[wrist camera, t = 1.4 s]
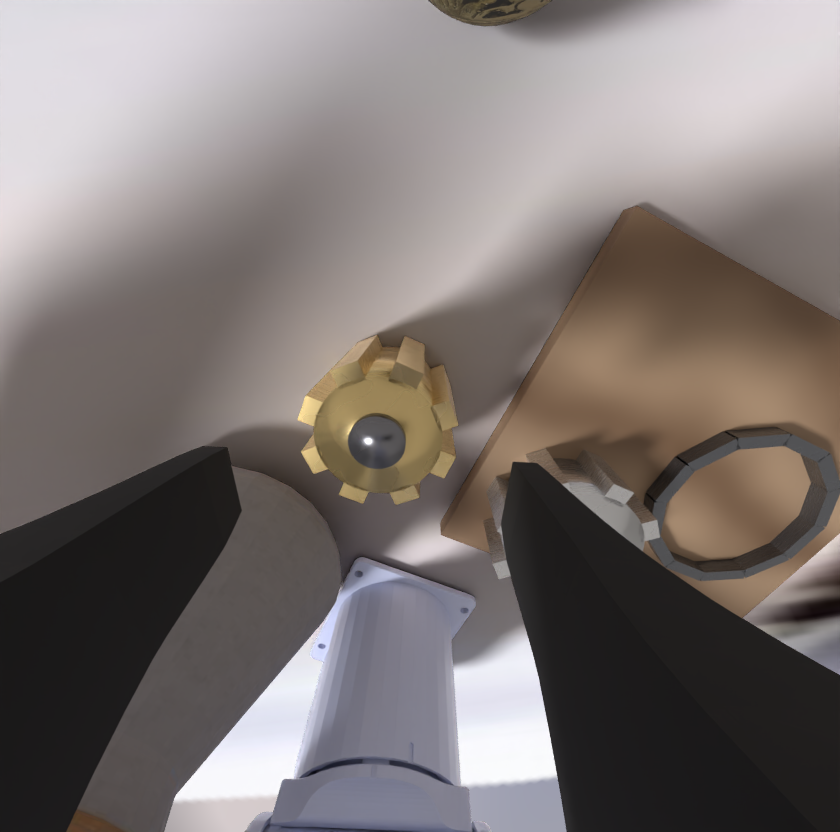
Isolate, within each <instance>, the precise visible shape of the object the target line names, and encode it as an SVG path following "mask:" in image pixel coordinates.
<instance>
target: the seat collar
mask: <svg viewBox="0 0 840 832" xmlns="http://www.w3.org/2000/svg"><path fill="white" fill-rule="evenodd" d="M780 446H785V447H787V448H789V449H791V450H793V451H795V452H797V453H799V454H801V457H802V460H803V463H804V465H805V468H806V471H807V474H808V476H809V479H810V482H811V484H810V486H809V489H808V492H807V495H806V497H805V500H804V503H803V505H802V508H801V511H800V513H799V516H798V517H796V518H795V519H794V520H793V521H792V522H791V523H790V524H789V525H788V526H787V527H786V528H785V529H784V530H783V531H782V532H781V533H779V534H778V535H777V536H776V537H775V538H774V539H773V540H772V541H771V542H770V543H768V544H765V545H763V546H761V547H758V548H756V549H754V550H752V551H749V552H747V553H745V554H742V555H740V556H738V557H735V558H733V559H722V560H706V561H693V560H690V559H688V558H686V557H683V556H681V555H678V554H676V553H673V552H671V551H669V549H668V548H667V546H666V544H665V542H664V541H663V539H662V537H661V531H662V526H663V521H664V516H665V511H666V505H667V503H668V502H669V500H670V499H671V498H672V497H673V496H674V495H675V494H676V492H677V491H678V490H679V489H680V488H681V487H682V486H683V484H684V483H685V482H686V481H687V480H688V479H689V478H690V476H691V475H692V474H693V473H694V472H695V471H697V470H699V469H701V468H703V467H705V466H707V465H709V464H711V463H713V462H715V461H717V460H719V459H721V458H723V457H725V456H727V455H729V454H731V453H733V452H735V451H737V450H741V449H754V448H767V447H780ZM677 457H678V458H677ZM677 457H674V458H673V459H672V461H671V462H670V463H669V464H668V465H667V467H666V468H665V469H664V470H663V471H662V473H661V474H660V475H659V476H658V477H657V479H656V480H655V481H654V482H653V483H652V485H651V486H650V487H649V488H648V489H647V491H646V492H647V493H645V497H644V503H643V505H644V506H645V507H646V508H647V509H648V510H649V511H650V512H651V514H652V515H653V516H654V517H655V518H656V519H657V522H658V528H659V534H660V537H659V538H656V539H652V540H648V541H647V542H648V544H649V545H650V547H651V549H652V550H653V552H654V554H655V555H656V557H657V558H658V559H659V560H660V562H661V563H662V564H663V565H664V567H666V568H668V569H671V570H673V571H676V572H678V573H681V574H683V575H686V576H688V577H691V578H693V579H696V580H698V581H699V580H700V581H712V580H729V579H744V577H745V578H747V577H750V576H752V575H754V574H757V573H759V572H762V571H764V570H766V569H769V568H771V567H774V566H776V565H778V564H781V563H783V562H786V561H788V560H789V559H788V558H790V559H791V558H792V557H794V556H795V555H796V554H797V553H798V552H799V551H800V550H801V549H803V548H804V547H805V546H806V545H807V544H808V543H809V542H810V541H812V540H813V539H814V538H815V537H816V536H817V535H818V534H819V533H820V532H822V531H823V530H824V529H825V528H824V527H827V524H828V522H829V519H830V517H831V515H832V512H833V510H834V507H835V505H836V502H837V500H838V498H839V495H840V480H839V477H838V474H837V471H836V468H835V465H834V461H833V458H832V455H831V454H830V452H828V451H826V450H824V449H822V448H819V447H817V446H815V445H813V444H811V443H809V442H807V441H805V440H803V439H801V438H799V437H797V436H795V435H793V434H791V433H789V432H787V431H784V430H782V429H780V428H778V427H763V428H751V429H738V430H726V431H725V432H723V431H722V432H720V433H718V434H716V435H714V436H713V437H711V438H709V439H707V440H705V441H703V442H701V443H699V444H697V445H695V446H693V447H691V448H689V449H687V450H686V451H684V452H682V453H680V454H678V455H677Z"/></svg>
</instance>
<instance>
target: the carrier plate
mask: <svg viewBox="0 0 840 832" xmlns="http://www.w3.org/2000/svg"><path fill="white" fill-rule="evenodd" d="M763 427H778V428H780V429H782V430H784V431H787V432H789V433H791V434H793V435H795V436H797V437H799V438H801V439H803V440H805V441H807V442H809V443H811V444H813V445H815V446H817V447H819V448H822V449H824V450H826V451H828V452H830V454H831V455H832V458H833V461H834V465H835V468H836V471H837V474H838V477H839V480H840V321H839V320H838V319H836V318H834V317H832V316H830V315H829V314H827V313H825V312H823V311H822V310H820V309H818V308H816V307H815V306H813V305H811V304H809V303H808V302H806V301H804V300H802V299H800V298H799V297H797V296H795V295H793V294H792V293H790V292H788V291H786V290H785V289H783V288H781V287H779V286H778V285H776V284H774V283H772V282H770V281H769V280H767V279H765V278H763V277H762V276H760V275H758V274H756V273H755V272H753V271H751V270H749V269H748V268H746V267H744V266H742V265H741V264H739V263H737V262H735V261H733V260H732V259H730V258H728V257H726V256H725V255H723V254H721V253H719V252H718V251H716V250H714V249H712V248H711V247H709V246H707V245H705V244H703V243H702V242H700V241H698V240H696V239H695V238H693V237H691V236H689V235H688V234H686V233H684V232H682V231H681V230H679V229H677V228H675V227H674V226H672V225H670V224H668V223H666V222H665V221H663V220H661V219H659V218H658V217H656V216H654V215H652V214H651V213H649V212H647V211H645V210H644V209H642V208H640V207H638V206H635V207H632V208H629V209H626V210H623V212H622V213H621V215H620V217H619V219H618V220H617V222H616V224H615V225H614V227H613V229H612V231H611V232H610V234H609V236H608V237H607V239H606V241H605V243H604V244H603V246H602V248H601V249H600V251H599V253H598V254H597V256H596V258H595V260H594V261H593V263H592V265H591V266H590V268H589V270H588V272H587V273H586V275H585V277H584V278H583V280H582V282H581V283H580V285H579V287H578V289H577V290H576V292H575V294H574V295H573V297H572V299H571V301H570V302H569V304H568V306H567V307H566V309H565V311H564V313H563V314H562V316H561V318H560V319H559V321H558V323H557V324H556V326H555V328H554V330H553V331H552V333H551V335H550V336H549V338H548V340H547V342H546V343H545V345H544V347H543V348H542V350H541V352H540V353H539V355H538V357H537V359H536V360H535V362H534V364H533V365H532V367H531V369H530V371H529V372H528V374H527V376H526V377H525V379H524V381H523V383H522V384H521V386H520V388H519V389H518V391H517V393H516V394H515V396H514V398H513V400H512V401H511V403H510V405H509V406H508V408H507V410H506V412H505V413H504V415H503V417H502V418H501V420H500V422H499V423H498V425H497V427H496V429H495V430H494V432H493V434H492V435H491V437H490V439H489V441H488V442H487V444H486V446H485V447H484V449H483V451H482V453H481V454H480V456H479V458H478V459H477V461H476V463H475V464H474V466H473V468H472V470H471V471H470V473H469V475H468V476H467V478H466V480H465V482H464V483H463V485H462V487H461V488H460V490H459V492H458V494H457V495H456V497H455V499H454V500H453V502H452V504H451V505H450V507H449V509H448V511H447V512H446V514H445V516H444V517H443V519H442V521H441V523H440V526H441V535H443V536H445V537H448V538H451V539H453V540H456V541H459V542H461V543H464V544H467V545H469V546H472V547H475V548H477V549H480V550H483V551H485V552H488V553H490V550H489V546H488V541H487V537H486V532H485V528H484V523H483V520H486V519H490V518H493V514H492V511H491V507H490V503H489V500H488V496H487V492H486V491H487V490H488V488H489V486H490V485H491V483H492V482H493V480H494V478H495V477H499V478H501V479H504V480H506V481H508V479H509V478H510V473H511V468H512V463H513V462H528V461H527V458H526V455H525V454H528V453H531V452H534V451H538V450H541V449H544V448H546V449H547V451H548V452H549V454H550V455H551V457H552V458H567V459H574V460H576V459H577V458H578V457H579V455H580V454H581V452H582V451H583V449H584V450H586V451H589V452H591V453H593V454H595V455H598V456H600V457H601V458H602V459H603V460H604V461H605V462H606V463H607V464H608V465H609V466H610V467H611V468H612V469H613V470H614V471H615V473H616V474H617V475H618V476H619V477H620V478H621V479H622V480H623V481H624V482H625V483H626V484H627V485H628V486H629V488H630V489H631V490H632V491H633V492H634V495H635V496H636V497H637V498H638V499H639V501H640V502H641V503H642V504H643V503H644V497H645V493H647V492H646V491H647V489H648V488H649V487H650V486H651V485H652V483H653V482H654V481H655V480H656V479H657V477H658V476H659V475H660V474H661V473H662V471H663V470H664V469H665V468H666V467H667V465H668V464H669V463H670V462H671V461H672V459H673V458H674V457H677V455H678V454H680V453H682V452H684V451H686V450H687V449H689V448H691V447H693V446H695V445H697V444H699V443H701V442H703V441H705V440H707V439H709V438H711V437H713V436H714V435H716V434H718V433H720V432H722V431H723V432H725V431H726V430H738V429H751V428H763ZM677 458H678V457H677ZM810 484H811V482H810V479H809V476H808V474H807V471H806V468H805V465H804V463H803V460H802V457H801V454H799V453H797V452H795V451H793V450H791V449H789V448H787V447H785V446H780V447H767V448H754V449H741V450H737V451H735V452H733V453H731V454H729V455H727V456H725V457H723V458H721V459H719V460H717V461H715V462H713V463H711V464H709V465H707V466H705V467H703V468H701V469H699V470H697V471H695V472H694V473H693V474H692V475H691V476H690V478H689V479H688V480H687V481H686V482H685V483H684V484H683V486H682V487H681V488H680V489H679V490H678V491H677V492H676V494H675V495H674V496H673V497H672V498H671V499H670V500H669V502H668V503H667V505H666V511H665V516H664V521H663V526H662V531H661V537H662V539H663V541H664V542H665V544H666V546H667V548H668V549H669V551H671V552H673V553H676V554H678V555H681V556H683V557H686V558H688V559H690V560H693V561H706V560H722V559H733V558H735V557H738V556H740V555H742V554H745V553H747V552H749V551H752V550H754V549H756V548H758V547H761V546H763V545H765V544H768V543H770V542H771V541H772V540H773V539H774V538H775V537H776V536H777V535H778V534H779V533H781V532H782V531H783V530H784V529H785V528H786V527H787V526H788V525H789V524H790V523H791V522H792V521H793V520H794V519H795V518H796V517H798V516H799V513H800V511H801V508H802V505H803V503H804V500H805V497H806V495H807V492H808V489H809V486H810ZM824 528H825V529H824V530H823V531H822V532H820V533H819V534H818V535H817V536H816V537H815V538H814V539H813V540H812V541H810V542H809V543H808V544H807V545H806V546H805V547H804V548H803V549H801V550H800V551H799V552H798V553H797V554H796V555H795V556H794V557H792V558H791V559H790V558H788V559H789V560H788V561H786V562H783V563H781V564H778V565H776V566H774V567H771V568H769V569H766V570H764V571H762V572H759V573H757V574H754V575H752V576H750V577H747V578H745V577H744V579H729V580H712V581H700V580H699V581H698V580H696V579H693V578H691V577H688V576H686V575H683V574H681V573H678V572H676V571H673V570H671V569H668V568H666V567H665V568H666V569H668V570H669V571H671V572H672V573H673V574H675V575H676V576H678V577H679V578H681V579H682V580H684V581H685V582H687V583H688V584H690V585H691V586H692V587H694V588H695V589H697V590H698V591H700V592H701V593H703V594H704V595H706V596H707V597H709V598H710V599H712V600H714V601H715V602H717V603H718V604H720V605H721V606H723V607H725V608H726V609H728V610H729V611H731V612H733V613H734V614H736V615H738V616H739V617H741V618H743V617H744V616H745V615H746V614H748V613H749V612H750V611H751V610H752V609H753V608H754V607H756V606H757V605H758V604H759V603H760V602H761V601H762V600H764V599H765V598H766V597H767V596H768V595H769V594H771V593H772V592H773V591H774V590H775V589H776V588H777V587H779V586H780V585H781V584H782V583H783V582H784V581H785V580H787V579H788V578H789V577H790V576H791V575H792V574H793V573H795V572H796V571H797V570H798V569H799V568H800V567H801V566H803V565H804V564H805V563H806V562H807V561H808V560H809V559H811V558H812V557H813V556H814V555H815V554H816V553H818V552H819V551H820V550H821V549H822V548H823V547H824V546H826V545H827V544H828V543H829V542H830V541H831V540H832V539H834V538H835V537H836V536H837V535H838V534H839V533H840V495H839V498H838V500H837V502H836V505H835V507H834V510H833V512H832V515H831V517H830V519H829V522H828V524H827V527H824ZM643 552H644V553H645V554H647V555H648V556H650V557H651V558H652V559H654V560H655V561H656V562H658V563H659V564H661V565H662V566H663V567H664V565H663V564H662V563H661V562H660V560H659V559H658V558H657V557H656V555H655V554H654V552H653V550H652V549H651V547H650V545H649V544H648V542H647V541H645V542H644V549H643Z"/></svg>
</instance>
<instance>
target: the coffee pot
mask: <svg viewBox="0 0 840 832" xmlns="http://www.w3.org/2000/svg"><path fill="white" fill-rule="evenodd" d="M232 470H233V474H234V479H235V483H236V487H237V492H238V496H239V500H240V505H241V509H242V512H241V514H240V516H239V518H238V520H237V523H236V525H235V527H234V529H233V531H232V533H231V535H230V537H229V539H228V541H227V543H226V545H225V547H224V549H223V551H222V552H221V554H220V555H219V557H218V559H217V560H216V562H215V563H214V565H213V566H212V568H211V569H210V571H209V573H208V574H207V576H206V577H205V579H204V580H203V582H202V583H201V585H200V586H199V588H198V589H197V591H196V592H195V594H194V596H193V597H192V599H191V600H190V602H189V603H188V605H187V606H186V608H185V609H184V611H183V612H182V614H181V615H180V617H179V618H178V620H177V621H176V623H175V625H174V626H173V628H172V629H171V631H170V632H169V634H168V635H167V637H166V638H165V640H164V642H163V643H162V645H161V647H160V648H159V650H158V652H157V653H156V655H155V657H154V658H153V660H152V662H151V664H150V666H149V667H148V669H147V671H146V673H145V675H144V677H143V679H142V680H141V682H140V684H139V686H138V688H137V690H136V692H135V694H134V695H133V697H132V699H131V701H130V703H129V705H128V707H127V708H126V710H125V712H124V714H123V716H122V718H121V720H120V722H119V724H118V726H117V728H116V730H115V732H114V734H113V736H112V738H111V740H110V742H109V744H108V746H107V748H106V750H105V752H104V754H103V756H102V758H101V760H100V762H99V764H98V766H97V768H96V770H95V772H94V774H93V776H92V778H91V780H90V782H89V784H88V787H87V789H86V791H85V793H84V795H83V797H82V799H81V801H80V804H79V806H78V808H77V810H76V812H75V814H74V816H73V818H72V821H71V823H70V825H69V827H68V829H67V831H66V832H164V830H165V827H166V823H167V820H168V817H169V813H170V810H171V807H172V804H173V801H174V798H175V796H176V794H177V793H178V792H179V791H180V789H181V788H182V787H183V786H184V785H185V783H186V782H187V781H188V780H189V779H190V778H191V776H192V775H193V774H194V773H195V772H196V771H197V769H198V768H199V767H200V766H201V765H202V763H203V762H204V761H205V760H206V759H207V758H208V756H209V755H210V754H211V753H212V752H213V751H214V749H215V748H216V747H217V746H218V745H219V743H220V742H221V741H222V740H223V739H224V738H225V736H226V735H227V734H228V733H229V732H230V730H231V729H232V728H233V727H234V726H235V725H236V723H237V722H238V721H239V720H240V719H241V718H242V716H243V715H244V714H245V713H246V712H247V710H248V709H249V708H250V707H251V706H252V705H253V703H254V702H255V701H256V700H257V699H258V697H259V696H260V695H261V694H262V693H263V692H264V690H265V689H266V688H267V687H268V686H269V685H270V683H271V682H272V681H273V680H274V679H275V677H276V676H277V675H278V674H279V673H280V672H281V670H282V669H283V668H284V667H285V666H286V665H287V663H288V662H289V661H290V660H291V659H292V657H293V656H294V655H295V654H296V653H297V652H298V650H299V649H300V648H301V647H302V646H303V644H304V643H305V642H306V641H307V640H308V639H309V637H310V636H311V635H312V634H313V633H314V632H315V630H316V629H317V628H318V627H319V626H320V624H321V623H322V622H323V621H324V619H325V618H326V616H327V615H328V613H329V612H330V610H331V609H332V608H333V606H334V604H335V603H336V600H337V596H338V592H339V589H340V585H341V580H342V575H341V565H340V555H339V551H338V548H337V544H336V541H335V539H334V537H333V535H332V532H331V530H330V528H329V525H328V523H327V522H326V520H325V519H324V518H323V517H322V515H321V514H320V513H319V512H318V511H317V509H316V508H315V507H314V506H313V504H312V503H311V502H310V501H308V500H307V499H306V498H304V497H303V496H302V495H300V494H299V493H298V492H296V491H295V490H294V489H293V488H291V487H290V486H288V485H286V484H284V483H282V482H280V481H278V480H276V479H274V478H272V477H269V476H267V475H265V474H263V473H260V472H256V471H251V470H247V469H243V468H239V467H235V466H232Z"/></svg>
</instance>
